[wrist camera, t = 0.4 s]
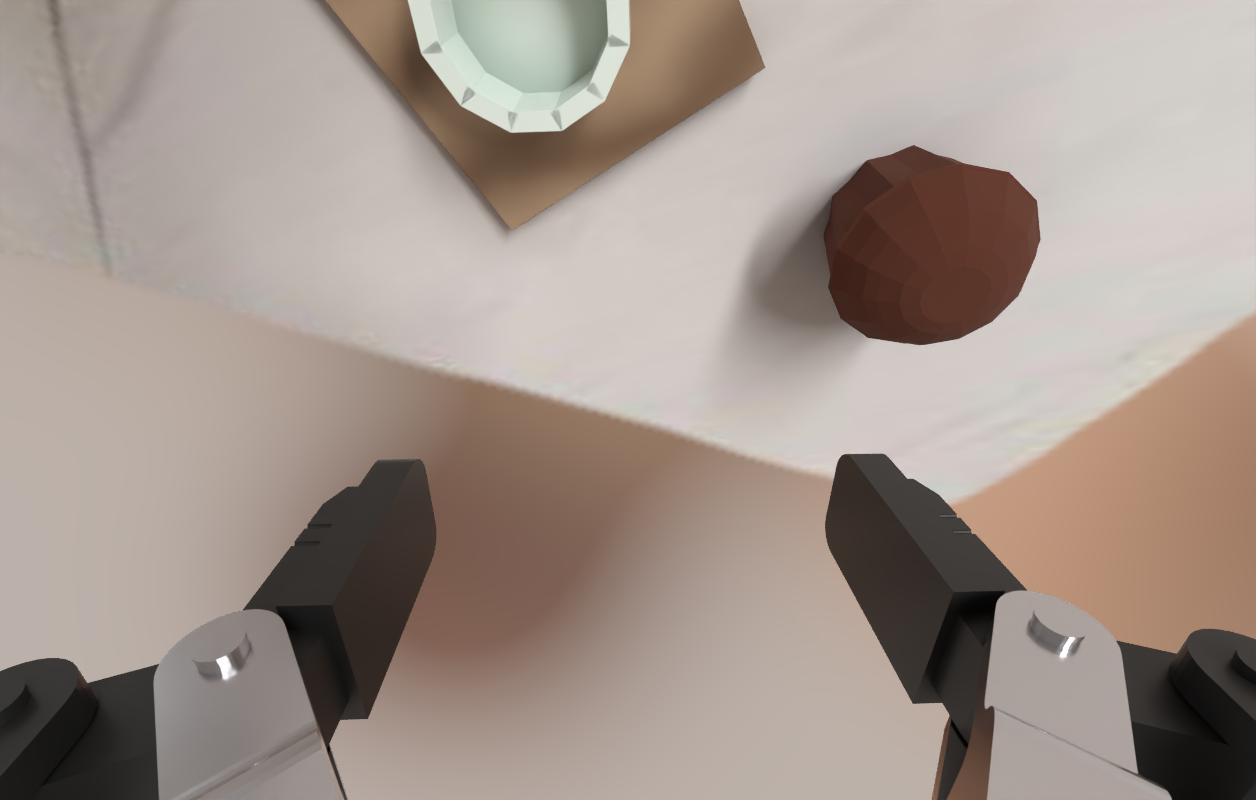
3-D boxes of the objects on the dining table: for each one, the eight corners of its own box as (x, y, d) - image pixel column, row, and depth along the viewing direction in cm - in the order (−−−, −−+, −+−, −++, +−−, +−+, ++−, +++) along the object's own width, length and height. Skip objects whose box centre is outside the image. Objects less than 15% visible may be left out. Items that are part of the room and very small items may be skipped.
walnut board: (278, -73, 27) (266, -72, 26) (573, -411, 20) (571, -425, 19) (514, 222, 37) (511, 230, 36) (761, 62, 31) (765, 67, 30)
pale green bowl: (389, -38, 27) (358, -29, 24) (550, -197, 23) (537, -209, 20) (519, 143, 33) (507, 168, 30) (665, 39, 29) (668, 56, 26)
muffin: (769, 231, 38) (801, 314, 30) (907, 82, 31) (988, 141, 24) (881, 314, 42) (932, 403, 35) (1021, 198, 36) (1119, 277, 28)
